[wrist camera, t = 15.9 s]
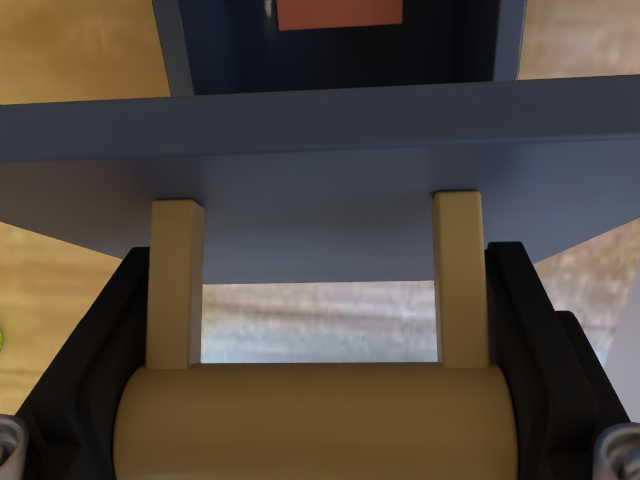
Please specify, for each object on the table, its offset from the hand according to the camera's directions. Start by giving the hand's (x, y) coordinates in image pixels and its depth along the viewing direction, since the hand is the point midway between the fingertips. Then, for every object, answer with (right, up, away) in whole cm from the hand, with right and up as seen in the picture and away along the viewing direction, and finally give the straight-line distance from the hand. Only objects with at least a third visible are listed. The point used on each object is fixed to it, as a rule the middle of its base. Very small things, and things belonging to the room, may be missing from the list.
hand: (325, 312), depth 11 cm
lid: (0, +2, +4) cm, 5 cm away
